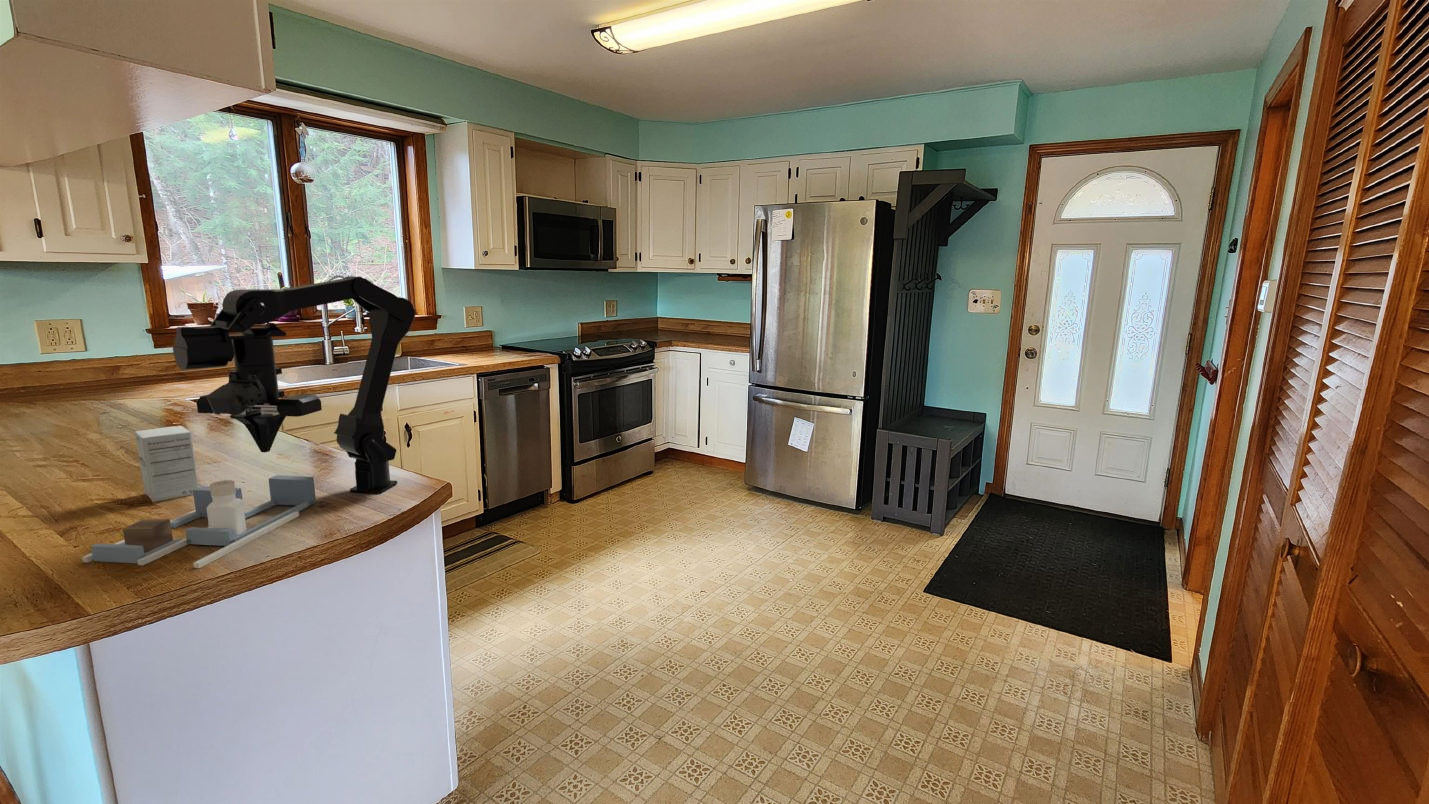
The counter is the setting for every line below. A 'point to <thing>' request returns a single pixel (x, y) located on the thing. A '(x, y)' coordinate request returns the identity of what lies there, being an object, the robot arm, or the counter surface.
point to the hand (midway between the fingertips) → (265, 451)
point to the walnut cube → (148, 533)
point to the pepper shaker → (226, 508)
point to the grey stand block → (281, 493)
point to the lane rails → (214, 555)
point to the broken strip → (136, 552)
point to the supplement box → (167, 462)
